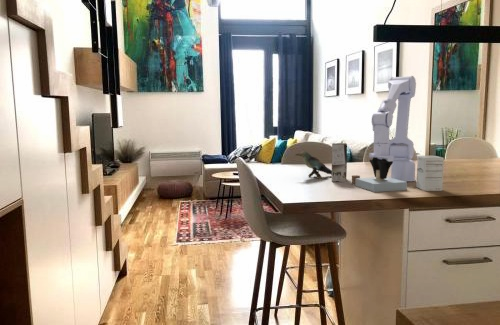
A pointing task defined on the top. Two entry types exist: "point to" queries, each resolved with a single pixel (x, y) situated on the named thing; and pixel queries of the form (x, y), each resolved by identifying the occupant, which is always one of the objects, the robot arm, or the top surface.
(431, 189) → the supplement box
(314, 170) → the bird figurine
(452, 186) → the top surface
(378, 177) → the long dowel
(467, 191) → the top surface
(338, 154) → the coffee box
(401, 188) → the hole board
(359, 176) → the short dowel
